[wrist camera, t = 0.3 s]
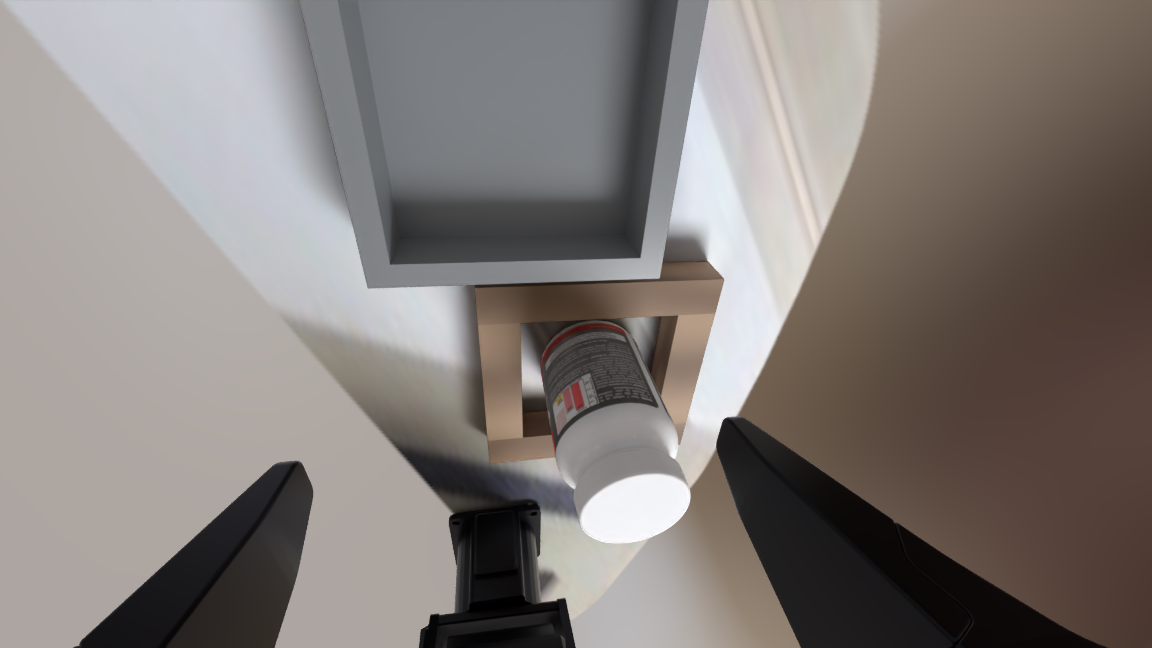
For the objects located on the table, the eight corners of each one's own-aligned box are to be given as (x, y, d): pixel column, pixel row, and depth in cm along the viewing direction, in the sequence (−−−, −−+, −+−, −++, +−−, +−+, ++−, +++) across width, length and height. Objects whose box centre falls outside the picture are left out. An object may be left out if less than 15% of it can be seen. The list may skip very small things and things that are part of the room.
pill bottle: (519, 367, 26) (535, 529, 17) (585, 298, 24) (637, 443, 16) (591, 406, 28) (633, 562, 20) (655, 347, 26) (730, 493, 18)
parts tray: (637, 245, 22) (659, 278, 20) (384, 250, 20) (367, 288, 18) (681, -72, 16) (725, -92, 13) (310, -110, 14) (264, -144, 11)
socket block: (669, 421, 30) (679, 444, 29) (489, 438, 28) (489, 463, 27) (707, 261, 24) (724, 279, 22) (475, 267, 22) (474, 288, 20)
